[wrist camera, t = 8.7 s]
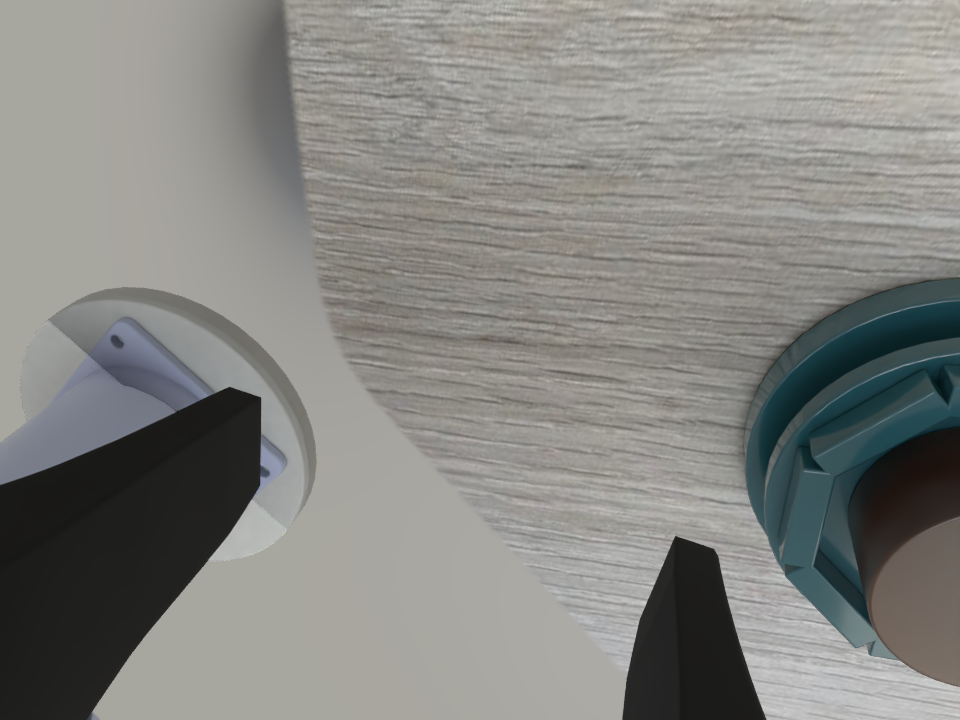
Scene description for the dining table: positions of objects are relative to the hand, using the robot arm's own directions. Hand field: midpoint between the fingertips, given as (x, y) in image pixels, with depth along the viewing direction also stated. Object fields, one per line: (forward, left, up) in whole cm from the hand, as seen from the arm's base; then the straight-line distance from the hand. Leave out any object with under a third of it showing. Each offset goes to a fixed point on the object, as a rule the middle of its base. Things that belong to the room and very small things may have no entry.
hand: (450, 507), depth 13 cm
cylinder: (+4, -11, -8) cm, 14 cm away
